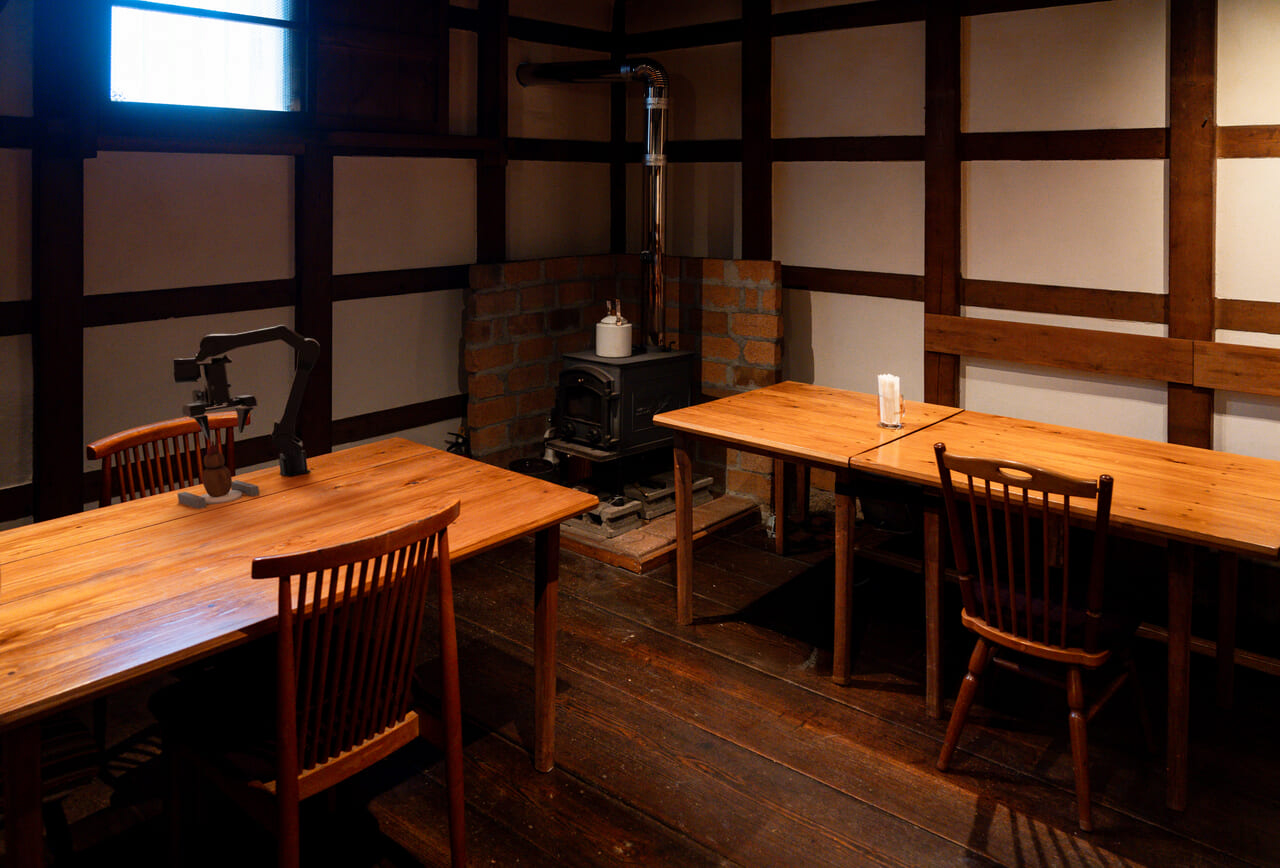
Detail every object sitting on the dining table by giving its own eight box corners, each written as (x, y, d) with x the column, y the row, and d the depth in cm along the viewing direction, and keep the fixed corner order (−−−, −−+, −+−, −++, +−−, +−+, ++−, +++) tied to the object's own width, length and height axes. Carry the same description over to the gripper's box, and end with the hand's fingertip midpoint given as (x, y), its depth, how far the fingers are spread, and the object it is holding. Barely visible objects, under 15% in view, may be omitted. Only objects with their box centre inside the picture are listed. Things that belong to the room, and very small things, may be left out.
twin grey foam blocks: (238, 488, 265) (237, 480, 265) (259, 494, 257) (258, 485, 257) (178, 502, 254) (177, 493, 253) (198, 509, 246) (197, 499, 245)
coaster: (230, 491, 263) (230, 488, 263) (249, 496, 256) (248, 493, 255) (189, 500, 255) (188, 497, 255) (207, 506, 248) (207, 503, 248)
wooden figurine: (226, 491, 260) (218, 435, 257) (237, 493, 256) (229, 437, 253) (201, 497, 255) (192, 440, 252) (212, 499, 251) (203, 442, 248)
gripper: (236, 374, 281) (244, 427, 284) (170, 383, 268) (178, 439, 271) (254, 376, 274) (262, 431, 277) (187, 386, 260) (195, 443, 264)
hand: (224, 436), depth 272 cm, fingers open, 9 cm apart
